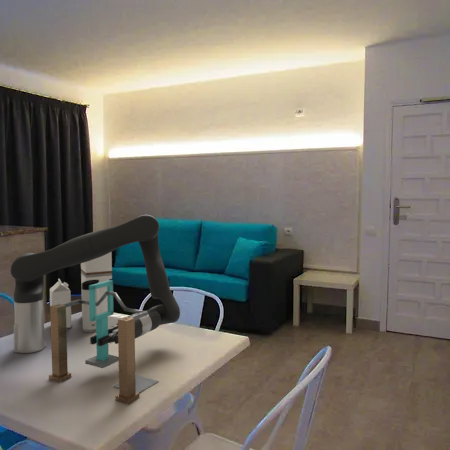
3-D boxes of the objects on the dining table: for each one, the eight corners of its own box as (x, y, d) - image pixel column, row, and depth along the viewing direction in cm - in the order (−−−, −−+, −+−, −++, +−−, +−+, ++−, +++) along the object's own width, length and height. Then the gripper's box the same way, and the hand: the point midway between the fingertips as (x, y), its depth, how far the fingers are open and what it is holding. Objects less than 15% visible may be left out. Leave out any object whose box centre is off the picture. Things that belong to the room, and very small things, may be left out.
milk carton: (52, 330, 176) (51, 282, 174) (50, 325, 182) (49, 279, 180) (71, 327, 179) (70, 280, 177) (68, 322, 185) (67, 277, 184)
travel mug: (97, 332, 173) (96, 281, 171) (80, 332, 173) (79, 281, 171) (102, 327, 179) (101, 278, 177) (85, 327, 179) (84, 278, 177)
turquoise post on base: (101, 369, 128) (99, 287, 126) (83, 364, 131) (81, 284, 129) (121, 359, 135) (120, 281, 133) (104, 355, 138) (102, 279, 136)
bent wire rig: (48, 379, 130) (46, 292, 128) (77, 366, 139) (75, 285, 137) (128, 404, 115) (126, 306, 113) (154, 388, 124) (153, 297, 122)
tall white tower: (112, 320, 189) (111, 238, 186) (86, 323, 184) (84, 239, 181) (106, 313, 199) (105, 235, 196) (82, 316, 194) (80, 236, 192)
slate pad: (113, 386, 125) (113, 385, 125) (134, 375, 133) (134, 374, 133) (137, 394, 121) (137, 393, 121) (158, 381, 129) (158, 380, 129)
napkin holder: (143, 330, 177) (143, 316, 177) (118, 336, 169) (118, 321, 169) (123, 322, 188) (123, 308, 188) (99, 327, 180) (98, 313, 180)
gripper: (118, 311, 148) (77, 325, 133) (151, 317, 141) (112, 333, 126) (118, 333, 149) (78, 350, 134) (151, 341, 142) (112, 359, 127)
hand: (95, 341), depth 130 cm, fingers closed on turquoise post on base, 2 cm apart
